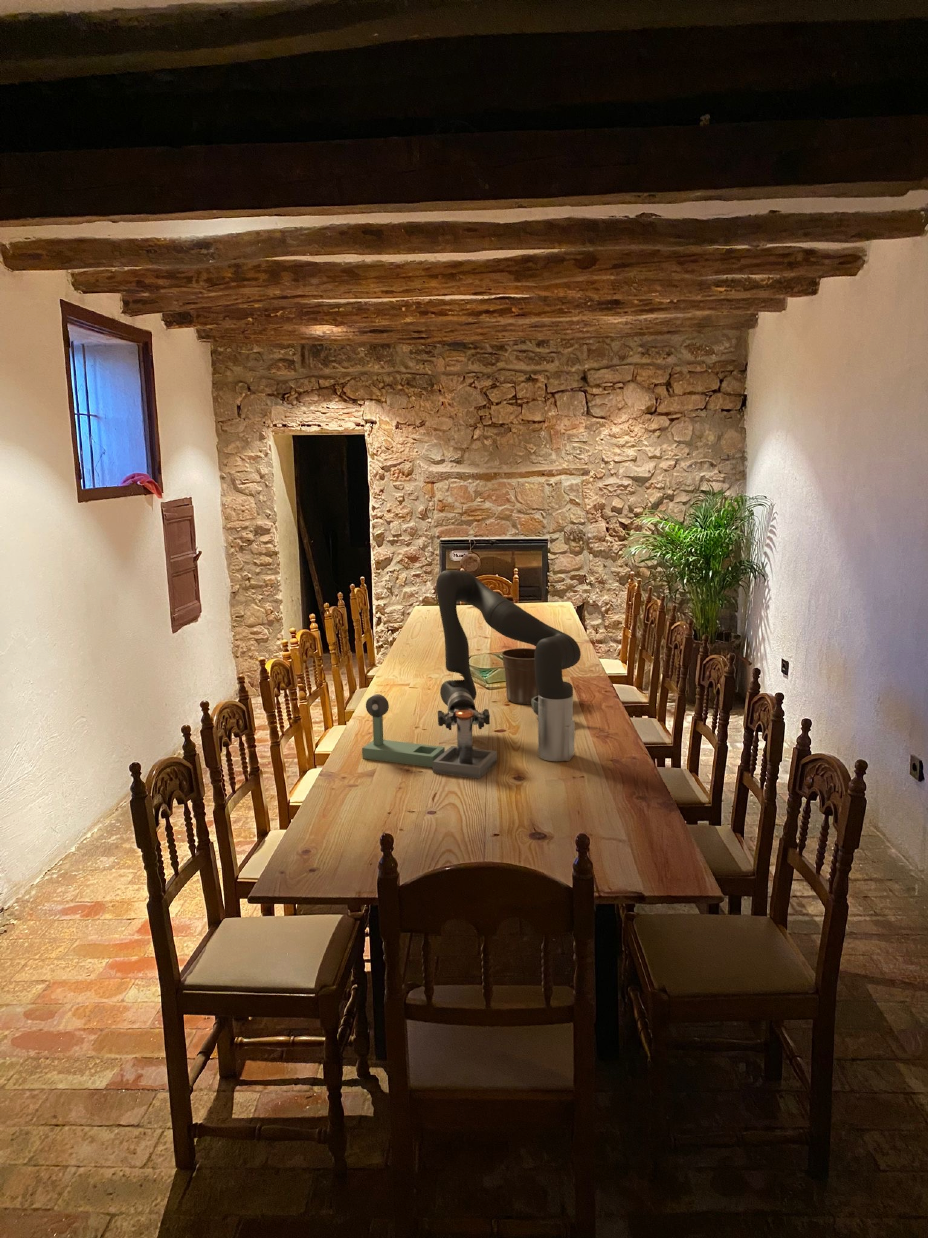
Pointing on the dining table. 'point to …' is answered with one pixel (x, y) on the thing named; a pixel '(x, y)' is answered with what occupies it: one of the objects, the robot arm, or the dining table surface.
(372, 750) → the pulley bracket
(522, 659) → the plant pot
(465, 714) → the pin
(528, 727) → the dining table surface
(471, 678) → the robot arm
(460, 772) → the pin tray
